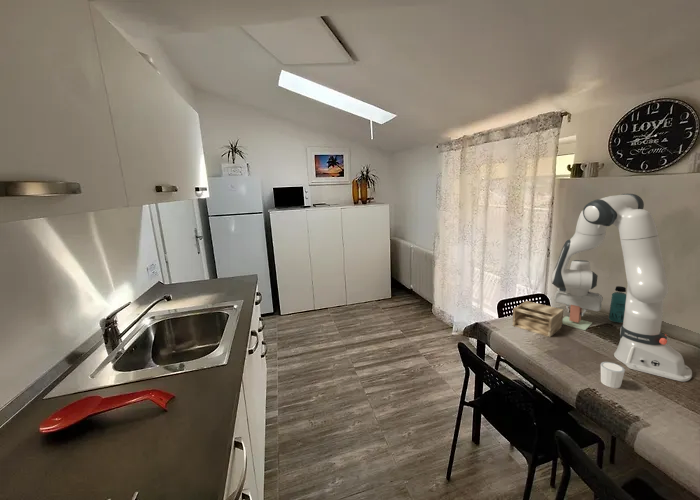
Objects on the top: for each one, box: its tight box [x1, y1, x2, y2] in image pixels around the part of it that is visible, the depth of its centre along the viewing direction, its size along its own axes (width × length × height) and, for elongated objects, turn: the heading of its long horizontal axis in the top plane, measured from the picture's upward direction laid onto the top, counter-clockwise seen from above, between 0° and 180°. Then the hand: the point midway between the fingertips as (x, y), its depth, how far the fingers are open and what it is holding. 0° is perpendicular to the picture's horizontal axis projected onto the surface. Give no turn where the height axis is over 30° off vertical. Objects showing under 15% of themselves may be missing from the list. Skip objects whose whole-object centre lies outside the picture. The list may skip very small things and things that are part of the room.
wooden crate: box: [512, 300, 564, 338], centre depth 159 cm, size 18×16×10 cm
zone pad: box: [562, 315, 593, 331], centre depth 161 cm, size 12×12×1 cm
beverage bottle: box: [608, 285, 627, 323], centre depth 157 cm, size 6×7×20 cm
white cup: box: [600, 361, 626, 389], centre depth 112 cm, size 7×7×7 cm
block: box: [569, 305, 583, 323], centre depth 160 cm, size 4×4×9 cm
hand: (575, 314), depth 160 cm, fingers closed on block, 4 cm apart
